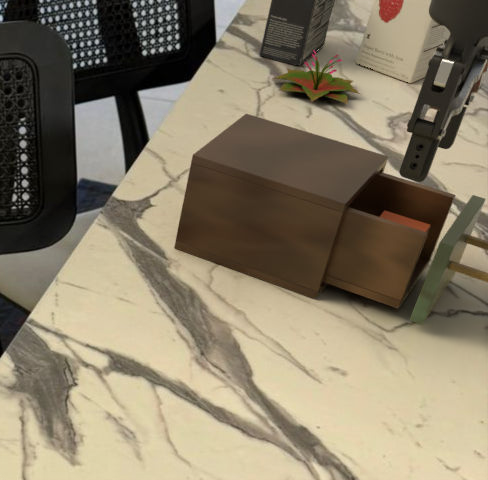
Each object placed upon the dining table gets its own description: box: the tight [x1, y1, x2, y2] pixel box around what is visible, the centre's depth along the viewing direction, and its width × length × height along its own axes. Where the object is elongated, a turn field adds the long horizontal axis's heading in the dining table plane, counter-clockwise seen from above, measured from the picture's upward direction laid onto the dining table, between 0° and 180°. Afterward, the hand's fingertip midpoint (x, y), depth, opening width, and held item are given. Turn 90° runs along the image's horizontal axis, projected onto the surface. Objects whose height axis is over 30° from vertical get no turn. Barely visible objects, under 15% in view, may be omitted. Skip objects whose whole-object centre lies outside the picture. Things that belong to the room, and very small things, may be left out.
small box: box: [259, 0, 336, 67], centre depth 141 cm, size 11×6×10 cm, turn 149°
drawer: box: [323, 172, 488, 325], centre depth 93 cm, size 19×11×8 cm, turn 57°
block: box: [380, 211, 431, 233], centre depth 94 cm, size 4×4×4 cm
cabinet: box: [173, 113, 389, 300], centre depth 98 cm, size 15×13×10 cm
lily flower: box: [273, 51, 363, 105], centre depth 132 cm, size 12×12×5 cm
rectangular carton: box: [355, 0, 450, 84], centre depth 138 cm, size 9×9×15 cm
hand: (425, 161), depth 89 cm, fingers open, 8 cm apart
